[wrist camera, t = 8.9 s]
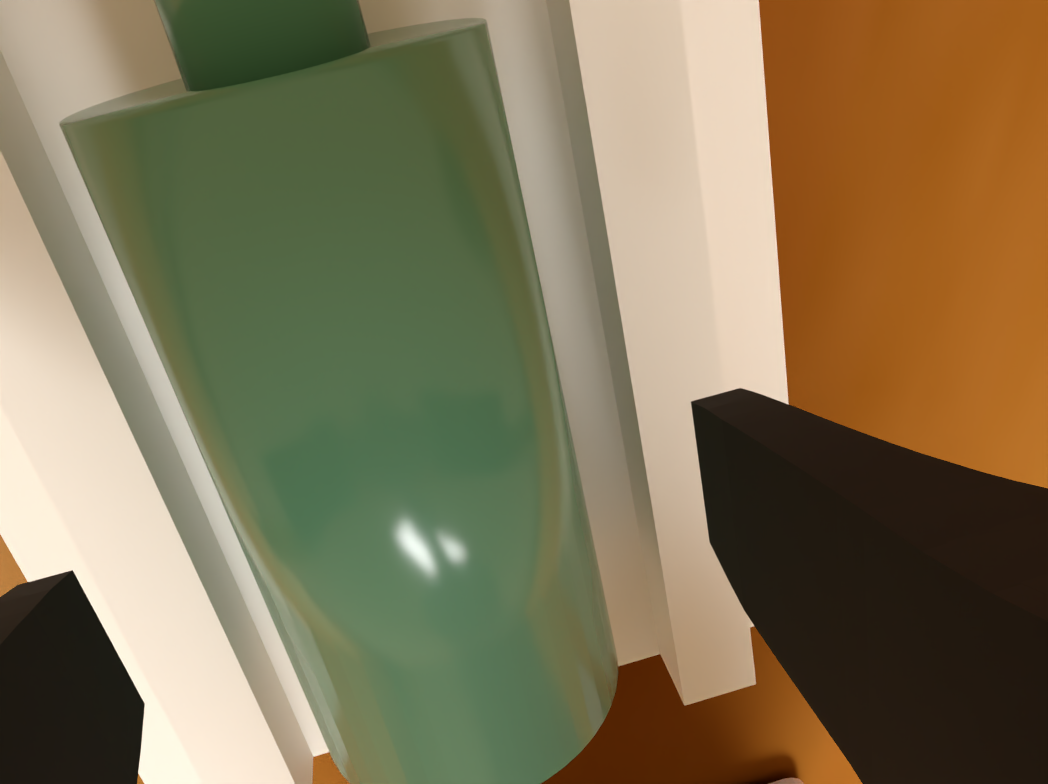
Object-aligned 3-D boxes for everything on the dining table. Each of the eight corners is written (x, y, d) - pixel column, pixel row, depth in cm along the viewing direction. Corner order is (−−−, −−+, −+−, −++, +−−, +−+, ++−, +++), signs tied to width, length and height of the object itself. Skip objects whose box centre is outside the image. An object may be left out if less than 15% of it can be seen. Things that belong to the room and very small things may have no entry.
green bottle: (604, 563, 17) (634, 787, 13) (352, 604, 17) (295, 834, 13) (429, -308, 11) (367, -476, 6) (47, -211, 11) (-258, -306, 7)
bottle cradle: (783, 583, 20) (838, 659, 18) (164, 764, 19) (141, 869, 17) (709, -277, 13) (786, -329, 11) (-295, -65, 12) (-443, -73, 10)
